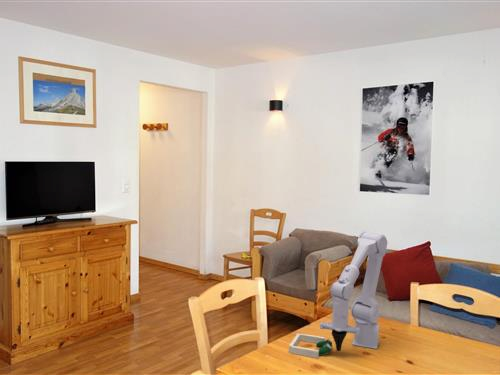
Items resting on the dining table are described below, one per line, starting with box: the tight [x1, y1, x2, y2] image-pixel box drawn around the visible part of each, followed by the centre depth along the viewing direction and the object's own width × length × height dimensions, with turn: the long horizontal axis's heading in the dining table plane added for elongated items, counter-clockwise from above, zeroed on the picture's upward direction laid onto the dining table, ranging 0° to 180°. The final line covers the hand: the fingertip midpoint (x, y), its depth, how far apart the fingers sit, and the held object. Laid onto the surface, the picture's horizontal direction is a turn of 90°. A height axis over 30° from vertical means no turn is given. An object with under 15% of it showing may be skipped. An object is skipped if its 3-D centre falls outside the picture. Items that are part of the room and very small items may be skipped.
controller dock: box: [288, 333, 327, 359], centre depth 173 cm, size 11×14×2 cm
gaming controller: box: [315, 337, 333, 356], centre depth 171 cm, size 9×4×6 cm
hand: (338, 350), depth 169 cm, fingers closed
